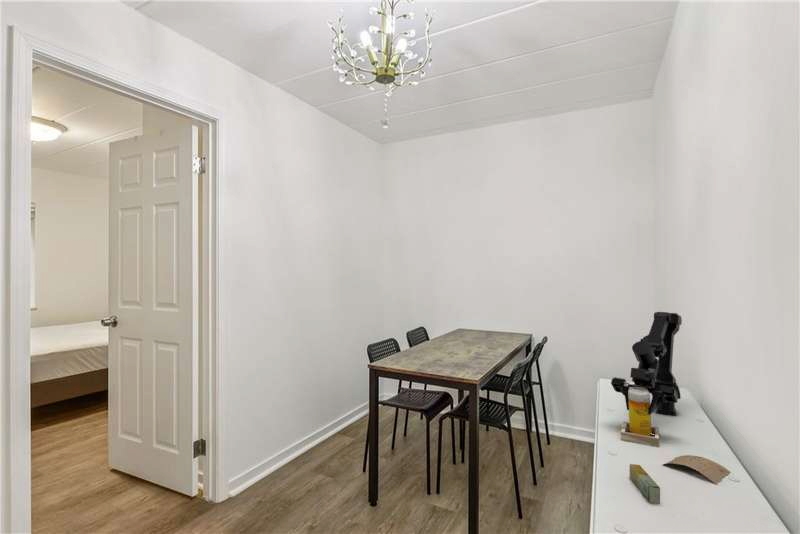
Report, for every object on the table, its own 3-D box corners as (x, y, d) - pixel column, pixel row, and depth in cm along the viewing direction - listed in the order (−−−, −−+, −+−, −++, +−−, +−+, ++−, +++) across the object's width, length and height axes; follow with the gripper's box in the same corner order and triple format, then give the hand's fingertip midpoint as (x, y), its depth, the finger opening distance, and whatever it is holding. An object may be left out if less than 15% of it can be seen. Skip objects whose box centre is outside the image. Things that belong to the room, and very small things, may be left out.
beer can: (644, 439, 126) (642, 393, 126) (625, 433, 132) (624, 388, 132) (655, 435, 129) (653, 389, 129) (637, 429, 135) (635, 385, 135)
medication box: (661, 504, 94) (661, 488, 94) (648, 503, 94) (648, 487, 94) (639, 478, 106) (639, 463, 106) (628, 477, 106) (628, 463, 106)
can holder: (623, 429, 137) (623, 421, 138) (659, 435, 132) (659, 427, 132) (621, 440, 129) (620, 432, 129) (659, 447, 123) (658, 439, 123)
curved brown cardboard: (659, 466, 112) (659, 456, 112) (675, 456, 118) (675, 447, 118) (721, 489, 100) (721, 478, 100) (736, 477, 106) (736, 467, 106)
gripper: (611, 354, 140) (601, 393, 133) (674, 362, 126) (666, 405, 119) (620, 372, 145) (610, 410, 138) (681, 381, 132) (674, 424, 124)
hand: (638, 411), depth 130 cm, fingers closed on beer can, 6 cm apart
